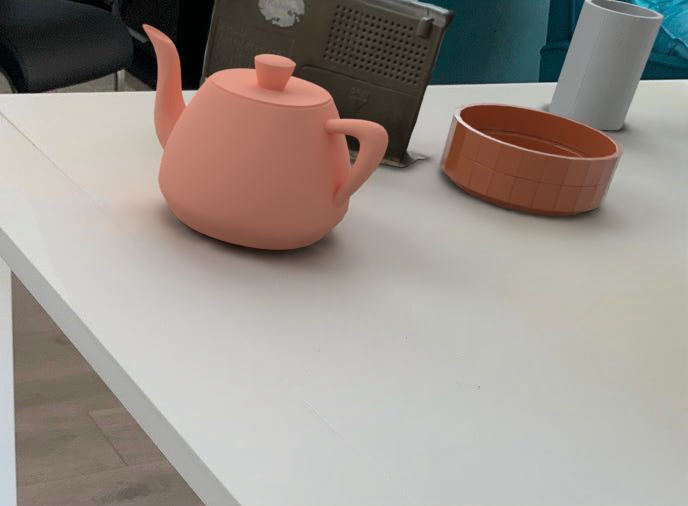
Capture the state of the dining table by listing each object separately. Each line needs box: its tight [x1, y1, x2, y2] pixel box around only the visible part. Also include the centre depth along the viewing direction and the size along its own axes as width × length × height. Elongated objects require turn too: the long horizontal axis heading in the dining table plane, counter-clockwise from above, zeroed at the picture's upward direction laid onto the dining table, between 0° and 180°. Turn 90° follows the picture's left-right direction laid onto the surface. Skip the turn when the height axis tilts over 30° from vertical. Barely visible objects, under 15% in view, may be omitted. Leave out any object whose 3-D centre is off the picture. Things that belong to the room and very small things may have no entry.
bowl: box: [439, 102, 624, 217], centre depth 99 cm, size 16×16×6 cm
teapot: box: [142, 23, 388, 251], centre depth 80 cm, size 22×15×12 cm
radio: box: [199, 0, 456, 168], centre depth 98 cm, size 23×9×15 cm, turn 71°
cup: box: [548, 0, 664, 131], centre depth 123 cm, size 9×9×12 cm
